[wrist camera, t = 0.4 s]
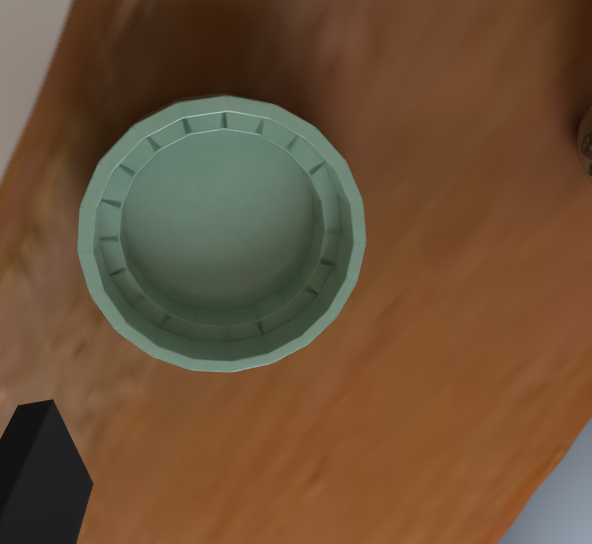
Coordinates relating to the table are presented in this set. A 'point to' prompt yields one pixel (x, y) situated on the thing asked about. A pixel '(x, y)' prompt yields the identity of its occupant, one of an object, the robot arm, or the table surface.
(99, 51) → the table surface
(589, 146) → the ceramic vessel
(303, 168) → the bowl
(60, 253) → the table surface
